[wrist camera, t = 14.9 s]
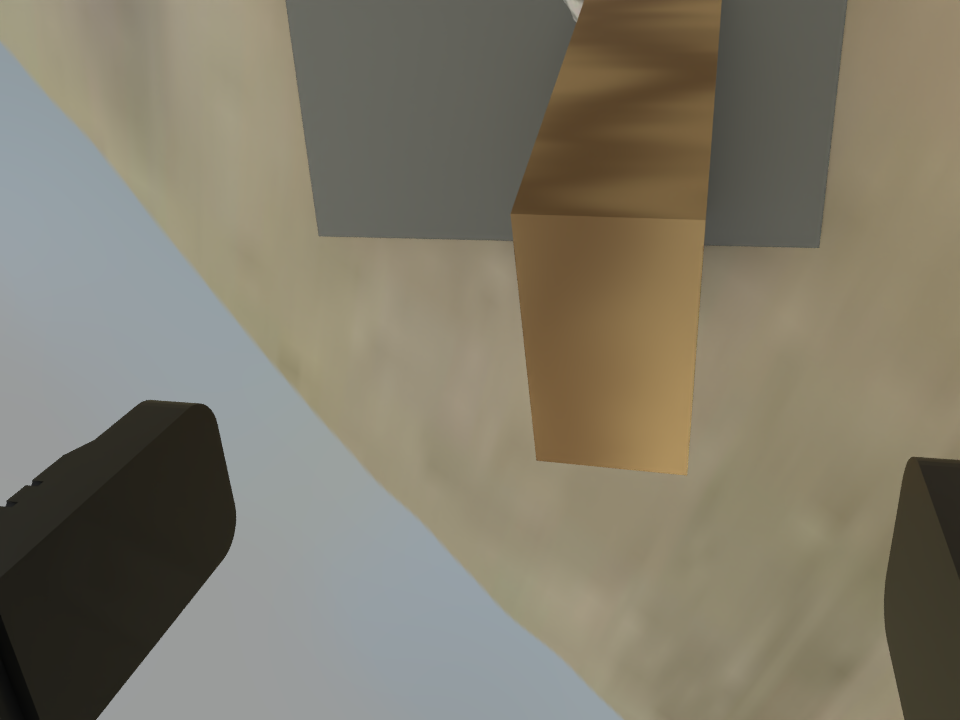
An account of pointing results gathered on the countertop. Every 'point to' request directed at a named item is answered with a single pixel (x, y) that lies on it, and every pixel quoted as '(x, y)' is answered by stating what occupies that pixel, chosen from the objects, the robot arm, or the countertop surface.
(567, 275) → the tall wooden block
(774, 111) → the rubber mat
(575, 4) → the cookie jar
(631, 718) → the countertop surface
